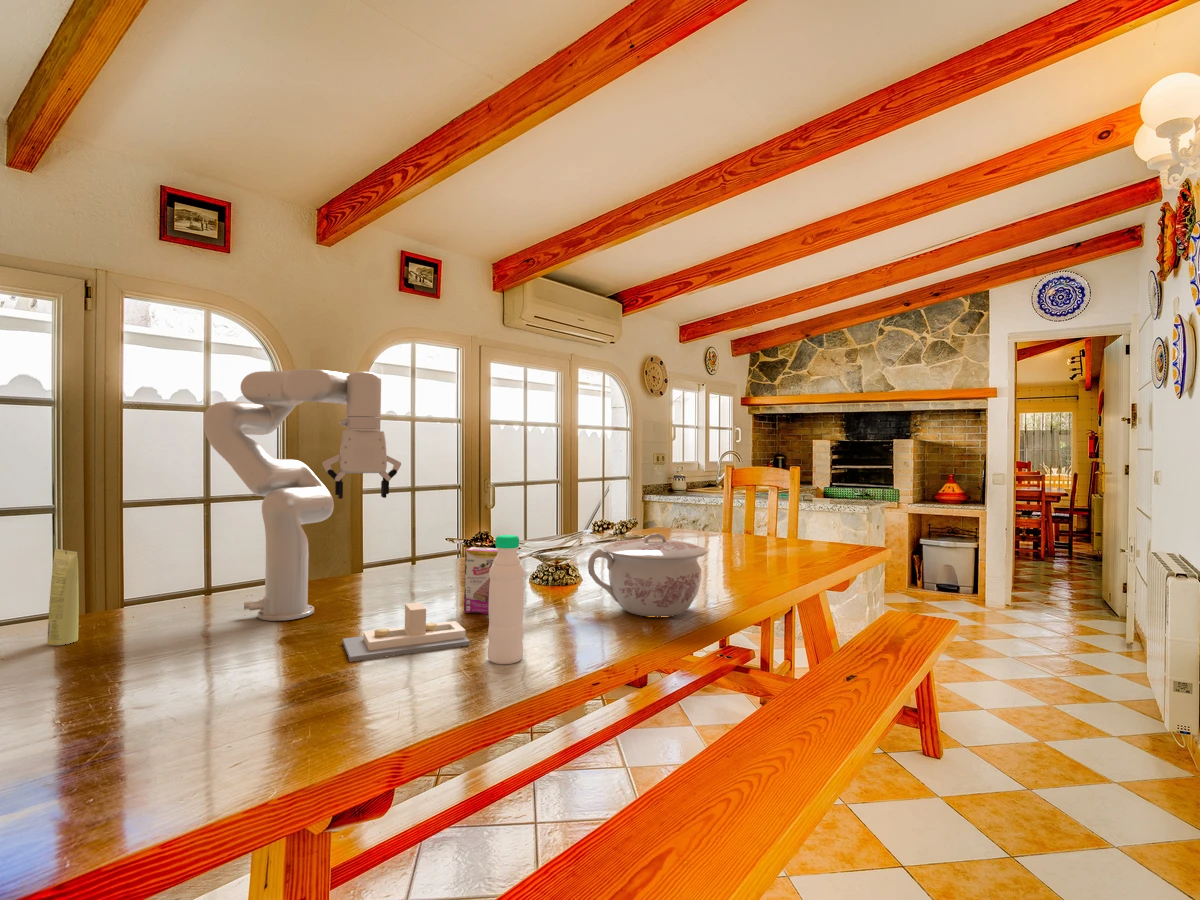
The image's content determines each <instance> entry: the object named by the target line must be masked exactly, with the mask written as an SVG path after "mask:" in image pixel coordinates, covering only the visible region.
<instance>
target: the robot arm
mask: <svg viewBox="0 0 1200 900" xmlns="http://www.w3.org/2000/svg"><path fill="white" fill-rule="evenodd" d="M240 391H241V394H242V396H243V397H244V398H245V399H246V400H248V401H249V402H246V401H245V402H244V401H243V402H242V401H234V400H233V401H232V400H231V401H221V402H220V401H219V402H217V403H214V404H212V405H210V406H209V407H208V408H207V410H206V411H205V413H204V415H203V429H204V432H205V436H206V438H207V441H208V442H209V444H210V445H211V447H212V448H213V449H214V450H215V451H216V452H217V453H218V455H220V456H221V457H222V458H223V459H224V460H225V461H226V462H227V463H228V465H230V467H231V469H232V470H233V471H234V472H235V473H236V474H237V476H238V477H239V478H240V480H241V481H242V482H243V483H244V485H245V486H246V487H247V488H248V489H249V490H250V492H251V493H252V494H255V495H256V496H259V497H264V498H263V500H262V502H261V503H262V504H261V514H262V519H263V525H264V533H265V575H264V576H265V579H264V581H265V583H264V587H265V588H264V591H265V592H264V595H263V598H259V599H258V600H255V601H252V600H251V601H243V610H248V611H257V610H259V611H258V612H257V618H258V619H259V620H263V621H268V622H269V621H270V622H279V621H280V622H281V621H291V620H298V619H303V618H305V617H306V618H307V617H309V616H310V615H311V616H312V614H314V613H315V607H314V606H313V605H311V604H309V603H308V600H309V599H308V598H309V597H308V594H309V539H308V536H307V535H306V533H305V531H304V529H303V527H302V525H307V524H314V523H320V522H323V521H325V520H328V519H329V518H330V517H331V516H332V514H333V512H334V508H335V503H334V498H333V496H332V494H331V492H330V491H329V489H328V488H327V487H326V485H325V484H324V483H323V482H322V481H321V480H320V479H319V478H318V476H317V475H316V474H315V473H314V471H313V470H312V469H311V468H310V467H309V466H308V465H307V464H306V463H304V462H302V461H300V460H299V459H292V458H274V457H272V456H270V455H269V454H268V452H266V450H265V449H264V448H263V446H261V445H260V444H259V443H258V442H257V441H255V440H254V439H252V438H250V437H249V436H248V435H252V436H254V435H256V436H263V435H269V434H271V433H273V432H274V431H276V430H277V429H278V428H279V426H280V425H281V424H282V423H283V422H284V421H285V420H286V418H288V416H289V415H290V413H292V411H293V410H294V409H295V408H296V406H299V405H301V404H303V403H305V402H310V403H311V402H316V403H324V404H325V403H328V404H336V405H346V417H345V418H343V419H341V418H340V419H339V425H340V426H344V427H345V429H346V430H343V431H342V435H341V440H340V441H341V442H340V448H339V454H337V455H335V456H333V457H330V458H329V459H326V460H325V461H323V462H322V466H323V467H324V470H325V472H326V473H327V475H328V476H330V477H331V478H332V480H334V481H335V482H334V485H335V487H334V490H335V491H334V495H335V496H337V498H338V499H339V500H340V499H343V498H344V491H343V490H344V482H343V481H342V480H343V478H344V477H345V475H346V474H379V475H380V476H381V478H382V480H381V482H380V497H382V498H383V499H385V498H386V499H387V495H389V494H390V481H391V479H392V478H393V477H394V476H396V475H397V473H398V471H399V469H400V468H401V465H402V462H400V461H398V460H397V459H396V458H395V459H394V458H393V457H391V456H389V455H387V441H386V433H385V431H383V430H382V431H381V420H382V418H381V413H382V411H381V408H382V378H381V376H380V375H379V374H378V373H375V372H370V371H353V372H350V373H345V372H344V373H343V372H340V371H334V370H333V371H332V370H326V369H319V368H318V369H317V368H310V369H309V368H307V369H305V368H303V369H290V370H275V371H274V370H271V371H269V370H267V371H266V370H263V371H261V370H260V371H255V372H251V373H249V374H247V375H246V376H244V378H243V379H242V380H241V382H240ZM387 462H388V463H389V464H391V465H392V468H391V470H390V471H389V472H387V471H386V470H387V465H388V464H387ZM336 463H338V464H339V465H338V466H339V471H338V472H337V473H336V472H335V471H334V470H333V468H332V465H333V464H336Z"/></svg>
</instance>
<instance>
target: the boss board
mask: <svg viewBox="0 0 1200 900" xmlns="http://www.w3.org/2000/svg"><path fill="white" fill-rule="evenodd" d="M436 628H437V624H436V623H435V622H426V631H434V629H436ZM389 629H390V628H385V627H384V628H376V629H375V630H373V631H374V635H376V636H377V637H386V635H388V634H389ZM467 645H469V646H470V640H469V639H468V638H467V636H465V638H459V639H451V640H443V641H436V642H428V643H421V644H413V645H405V646H398V647H390V648H383V649H375V650H369V649H368V647H367V645H366V643H365V641H364V639H363V635H362V636H351V637H345V638H344V637H343V638H342V646H343V648H344V650H345V652H346V655H348V656H347V658H348V660H349V662H350V663H351V662H352V663H354V662H359V661H360V660H361V661H367V659H368V660H374V659H373V658H376V659H381V658H380V657H383V658H387V657H386V656H390V657H394V656H393V655H397V656H400V655H399V654H405V655H409V654H408V653H412V654H418V653H417V652H419V653H425V652H424V651H426V652H432V650H434V651H439V650H447V649H455V648H461V646H463V647H468V646H467ZM454 647H455V648H454ZM353 661H354V662H353Z"/></svg>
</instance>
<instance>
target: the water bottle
mask: <svg viewBox="0 0 1200 900" xmlns="http://www.w3.org/2000/svg"><path fill="white" fill-rule="evenodd" d="M494 543H495V548H496V549H497V551H498V554H497V556H496V557H495V559H494V563H493V564H492V566H491V568H490V571H489V577H490V585H489V614H488V622H489V624H488V630H487V631H488V632H487V633H488V634H487V635H488V645H487V659H488V660H489V662H491V663H493V664H497V665H510V664H511V665H512V664H515V663H518V662H520V661H521V660H522V659H523V658H524V657H523V656H524V645H523V644H524V643H523V638H524V625H523V620H524V607H525V606H524V603H525V602H524V601H525V590H524V589H525V586H524V577H525V568H524V565H523V563H521V559H520V556H518V550H519V546H520V537H519V536H518V535H514V534H501V535H497V536H496V537H495V542H494Z"/></svg>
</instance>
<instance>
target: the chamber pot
mask: <svg viewBox="0 0 1200 900" xmlns="http://www.w3.org/2000/svg"><path fill="white" fill-rule="evenodd" d="M706 554H708V551H707V549H705V548H704V547H701V546H700V545H697V544H694V543H689V542H685V541H679V540H672V539H666V537H665V536H664V535H663V534H662V533H651V534H648V535H646V536H645V538H636V539H626V540H620V541H615V542H612V543H609V544H606V545H604V547H603V549H601V548H598V549H596V550H595V551H593V552H592V553H591V555H590V557H589V558H588V561H587V570H588V574H589V576H590V577H591V578H592V580H593V581H594V583H596V584H597V585H599V587H601V588H603V589H604V590H605V591H606V592H607V593H608V594H609V595H610V596H611V597H612V599H613V600H614V601H615V602H616V603H618V606H620V608H621V609H623V611H626V612H628V613H630V614H632V615H635V614H636V615H635V616H637V615H641V616H640V617H642V616H655V617H657V616H658V617H661V616H672V615H675V616H678V615H680V614H684V613H685V612H686V611H687V610H688V609H690V607H691V605H692V604H693V602H694V600H695V599H696V597H697V595H698V594H699V590H700V586H701V582H702V568H701V566H700V565H699V562H698V559H699V558H700V557H701V558H702V557H704V556H705V555H706ZM598 558H603V559H605V560H607V561H606V562H607V563H606V564H607V565H606V567H607V569H608V581H609V584H608V583H606V582H604V581H602V580H601V578H599V577H598V575H597V574H596V571H595V568H594V567H595V562H596V559H598ZM683 612H684V613H683ZM677 614H678V615H677ZM672 617H673V616H672Z"/></svg>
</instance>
